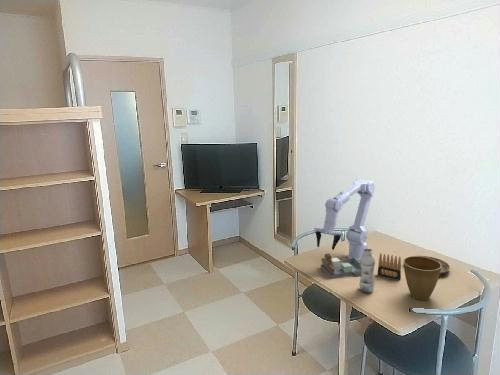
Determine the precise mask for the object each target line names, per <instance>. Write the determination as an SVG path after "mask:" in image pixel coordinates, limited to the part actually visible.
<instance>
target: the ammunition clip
mask: <svg viewBox="0 0 500 375" xmlns="http://www.w3.org/2000/svg"><path fill="white" fill-rule="evenodd" d="M382 255H383V256H382ZM378 258H379V259H378V265H377V266H378V267H377V274H376V275H377V276H378V277H382V278H388V279H392V280H396V281H401V280H402V259H401V256H399V257H397V255H395V256H393V255H391V257H390V254H387V257H386V254H385V253H384V254H382V252H380V253H379V257H378Z"/></svg>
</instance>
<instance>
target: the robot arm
mask: <svg viewBox="0 0 500 375" xmlns="http://www.w3.org/2000/svg"><path fill="white" fill-rule="evenodd" d="M375 188H376V185H375V183H374V181H372V180H363V179H359V178H357V179H355V180H354V181H353V182H352V185H351V186H350V187H349V188H348V189H346V190H344V191H343V190H341V191H339V193H338V194H337V195H335V196H334V197H332V198H331V197H330V198H329V199H327V200H326V202H325V203H324V204H325V218H324V223H323V228H318V227H314V229H313V232H314V233H315V236H316V247H317V248H319V247H320V243H321V238H322V234H324V235H330V236H333V241H332V245H331V250H332V251H334V250H335V248H336V246H337V245H338V243H339V241H340V240H341V239H342V238H343V236H344V233H343V232H340V231H336V225H337V224H336V223H337V219H338V214H339V211H341V210H342V208H343V207H344V204H346V203H347V202H348V201H350V197H351V196H353V195H355V194H356V193H357V194H358V195H359V196H360V200H359V204H358V207H357V212H356V214H355V218H354V223H353V224H352V225H349V227H348V230H347V231H346V234H345V237H346V240H347V243H348V244H349V245H348V253H347V254H345V257H347V259H349V258H353V257H354V258H355V259H357V260H358V261H360V259H361V257H362V256H363V255H364V254H363V252H364V249H369V248H368V244H367V243H366V241H367V234H368V231H367V230H366V228H365V223H366V219H367V215H368V211H369V207H370V203H371V199H372V197H373V196H374V193H375Z"/></svg>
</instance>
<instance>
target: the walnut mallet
mask: <svg viewBox="0 0 500 375" xmlns="http://www.w3.org/2000/svg"><path fill="white" fill-rule="evenodd" d="M332 258H333V257H332V255H331V254H330V253H325V254H324V257H323V258H322V257H321V264H323V265H324V266H325V267H326V268H327V270H328V271H329V272H330V273H331V274H332V275H333V274H334V268H333V267H332V266H331V265H330V264H332Z"/></svg>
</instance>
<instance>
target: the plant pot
mask: <svg viewBox="0 0 500 375" xmlns="http://www.w3.org/2000/svg"><path fill="white" fill-rule="evenodd" d="M422 256H423V255H411V256H407V257H405V258H403V261H402V262H403V270H404V275H405V281H406V285H407V288H408V291H409V294H410V296H411V298H413V299H415V300H417V301H427V300H429V299H430V297H431V296H432V294H433V293H434V290H435V289H436V286H437V283H438V281H439V278H440V276H441V275H440V271H441V267H442V265H441V264H440V263H439V262H438V261H436V260H434V259H431V258H427V257H422Z"/></svg>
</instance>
